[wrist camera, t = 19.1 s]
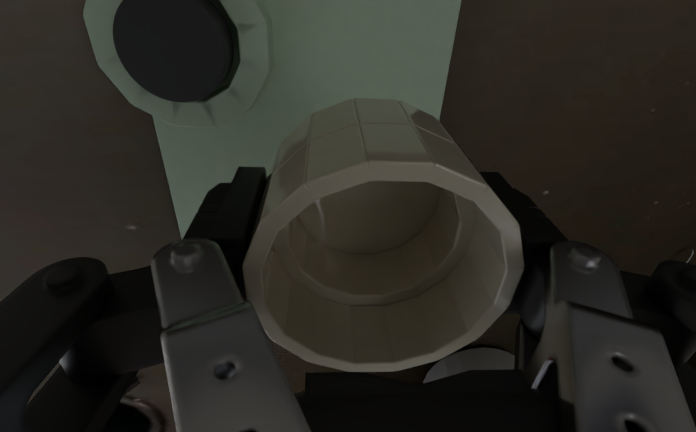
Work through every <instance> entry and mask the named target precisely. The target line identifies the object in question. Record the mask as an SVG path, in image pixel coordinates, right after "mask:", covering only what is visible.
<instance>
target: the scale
mask: <svg viewBox="0 0 696 432" xmlns="http://www.w3.org/2000/svg"><path fill="white" fill-rule="evenodd" d="M122 1H123V0H86V2H85V6H84V10H83V17H84V20H85V24H86V27H87V30H88V34H89V37H90V40H91V44H92V47H93V51H94V54H95V57H96V61H97V64H99V67H100V68H101V69H102V71H103V72H104V73H105V74H106V75H107V76H108V78H109V79H110V80H111V81H112V82H113V83H114V85H115V86H116V87H117V88H118V89H119V91H120V92H121V93H122V94H123V95H124V96H125V98H126V99H127V100H128V101H129V102H130V104H133V105H134V106H135V107H137V108H139V109H141V110H143V111H145V112H147V113H149V114H151V115H152V116H153V120H154V125H155V129H156V133H157V137H158V141H159V146H160V150H161V154H162V158H163V162H164V167H165V171H166V175H167V179H168V183H169V188H170V192H171V196H172V200H173V204H174V209H175V213H176V217H177V221H178V226H179V230H180V234H181V238H182V239H183V237H184V236H185V234H186V232H187V230H188V228H189V226H190V224H191V222H192V220H193V219H194V217H195V215H196V213H198V209H199V207H200V205H201V204H202V202H203V200H204V198H205V196H206V194H207V192H208V191H209V190H211V189H212V188H213V187H215V186H216V185H218V184H219V183H231V182H232V180H233V178H234V176H235V173H236V171H237V169H238V167H239V166H242V167H265V169H266V175H267V176H268V173H269V171H270V168H271V165H272V163H273V160H274V158H275V155H276V153H277V150H278V148H279V146H280V145H281V142H282V141H283V140H284V139H285V138H286V137H287V136H288V135H289V134H290V133H291V132H292V131H293V130H294V129H295V128H296V127H297V126H298V125H300V124H301V123H302V122H303V121H304V120H305V119H306V118H307V117H308V116H309V115H312V114H313V113H314V112H317V111H320V110H322V109H325V108H327V107H330V106H333V105H335V104H338V103H341V102H343V101H346V100H349V99H353V100H354V99H355V98H373V99H396V100H398V101H403V102H405V103H407V104H409V105H411V106H413V107H415V108H417V109H419V110H421V111H424V112H426V113H428V114H430V115H432V116H434V117H435V118H437V119H438V120H439V119H440V113H441V108H442V103H443V97H444V92H445V86H446V81H447V76H448V70H449V65H450V59H451V54H452V48H453V43H454V38H455V32H456V27H457V21H458V16H459V11H460V5H461V0H210V1H211V2H212V3H213V4H214V5H215V6H216V7H217V9H218V10H219V11H220V12H221V14H222V15H223V17H224V19H225V20H226V22H227V24H228V26H229V29H230V32H231V35H232V39H233V45H234V56H233V62H232V66H231V69H230V71H229V73H228V75H227V76H226V78H225V79H224V80H223V81H222V82H221V83H220V84H219V86H218V87H217V88H216V89H215V90H214V91H213V92H212V93H210V94H209V95H208V96H206V97H204V98H202V99H200V100H197V101H194V102H187V103H179V102H172V101H168V100H165V99H162V98H159V97H157V96H155V95H153V94H151V93H150V92H148V91H146V90H145V89H144V88H142V87H141V86H140V85H139V84H138V83H137V82H135V81H134V79H133V78H132V77H131V76H130V75H129V74H128V72H127V71H126V70H125V68H124V66H123V65H122V63H121V61H120V59H119V57H118V55H117V52H116V49H115V45H114V40H113V21H114V16H115V13H116V11H117V8H118V7H119V5H120V3H121V2H122Z"/></svg>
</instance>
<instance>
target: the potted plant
mask: <svg viewBox="0 0 696 432" xmlns="http://www.w3.org/2000/svg"><path fill="white" fill-rule="evenodd" d="M514 359H515V356H514V355H512V354H511V353H509V352H506V351H503V350H500V349H495V348H485V347H482V348H474V349H467V350H463V351H459V352H456V353H454V354H452V355H450V356H448V357H446V358H444V359H442V360H440V361H439V362H438V363H436V364H435V365H434V366H433V367H432V368H431V369H430V370H429V371H428V372H427V375H426V377H425V379H424V381H423V383H427V382H430V381H434V380H437V379H441V378H444V377H448V376H451V375H455V374H458V373H462V372H465V371H469V370H501V369H514Z"/></svg>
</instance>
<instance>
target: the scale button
mask: <svg viewBox="0 0 696 432" xmlns="http://www.w3.org/2000/svg"><path fill="white" fill-rule="evenodd" d="M113 40H114V45H115V49H116V52H117V55H118V57H119V59H120V61H121V63H122V65H123V66H124V68H125V70H126V71H127V72H128V74H129V75H130V76H131V77H132V78H133V79H134V81H135V82H137V83H138V84H139V85H140V86H141V87H142V88H144V89H145V90H146V91H148V92H150V93H151V94H153V95H155V96H157V97H159V98H162V99H165V100H168V101H172V102H179V103H187V102H194V101H197V100H200V99H202V98H204V97H206V96H208V95H209V94H210V93H212V92H213V91H214V90H215V89H216V88H217V87H218V86H219V84H220V83H221V82H222V81H223V80H224V79H225V78H226V76H227V75H228V73H229V71H230V69H231V66H232V62H233V56H234V45H233V39H232V35H231V32H230V29H229V26H228V24H227V22H226V20H225V19H224V17H223V15H222V14H221V12H220V11H219V10H218V9H217V7H216V6H215V5H214V4H213V3H212V2H211V1H210V0H123V1H122V2H121V3H120V5H119V7H118V8H117V11H116V13H115V16H114V21H113Z"/></svg>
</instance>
